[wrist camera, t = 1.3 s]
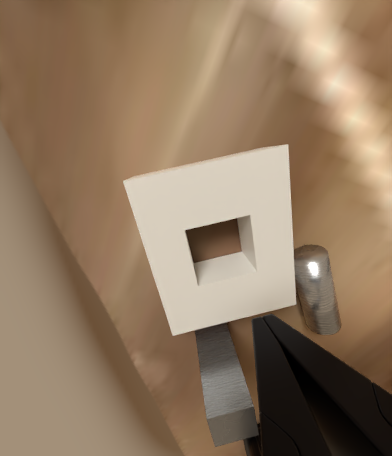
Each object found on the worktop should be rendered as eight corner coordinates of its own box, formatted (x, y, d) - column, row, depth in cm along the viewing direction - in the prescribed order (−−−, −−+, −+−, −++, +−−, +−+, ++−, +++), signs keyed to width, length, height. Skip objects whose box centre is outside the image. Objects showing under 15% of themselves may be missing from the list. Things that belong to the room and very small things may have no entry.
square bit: (228, 336, 21) (258, 435, 14) (199, 344, 21) (215, 446, 14) (223, 314, 20) (253, 406, 13) (193, 321, 20) (206, 419, 13)
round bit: (340, 311, 20) (342, 338, 18) (306, 308, 22) (304, 331, 20) (327, 243, 18) (328, 265, 16) (290, 245, 20) (286, 265, 17)
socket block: (275, 280, 20) (296, 304, 16) (172, 305, 19) (172, 335, 16) (263, 147, 16) (288, 144, 12) (133, 176, 15) (123, 181, 12)
